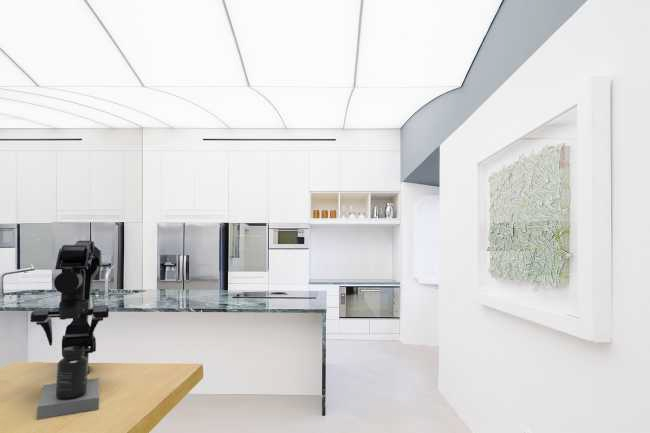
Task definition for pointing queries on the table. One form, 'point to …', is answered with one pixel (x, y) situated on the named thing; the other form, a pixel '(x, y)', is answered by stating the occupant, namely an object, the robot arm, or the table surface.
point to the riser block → (67, 401)
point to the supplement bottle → (72, 373)
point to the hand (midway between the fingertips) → (70, 343)
